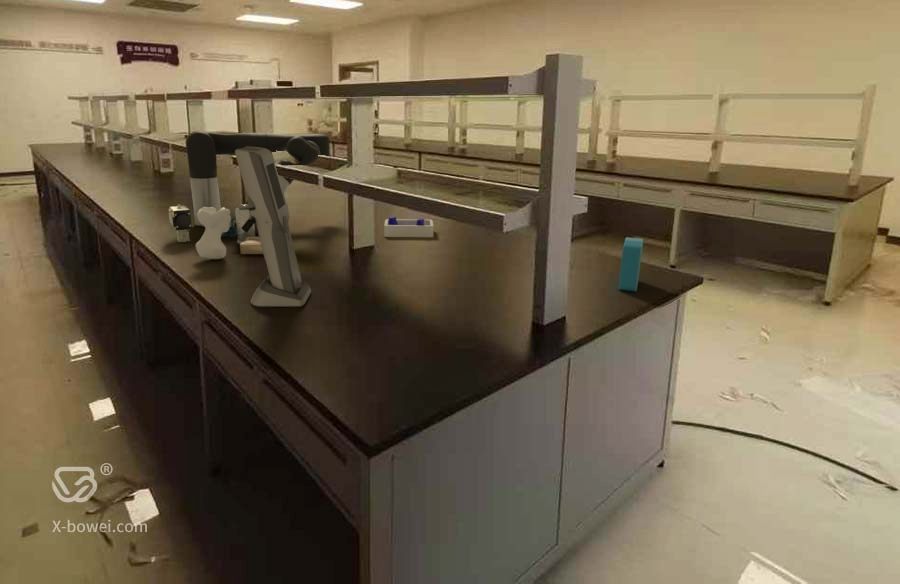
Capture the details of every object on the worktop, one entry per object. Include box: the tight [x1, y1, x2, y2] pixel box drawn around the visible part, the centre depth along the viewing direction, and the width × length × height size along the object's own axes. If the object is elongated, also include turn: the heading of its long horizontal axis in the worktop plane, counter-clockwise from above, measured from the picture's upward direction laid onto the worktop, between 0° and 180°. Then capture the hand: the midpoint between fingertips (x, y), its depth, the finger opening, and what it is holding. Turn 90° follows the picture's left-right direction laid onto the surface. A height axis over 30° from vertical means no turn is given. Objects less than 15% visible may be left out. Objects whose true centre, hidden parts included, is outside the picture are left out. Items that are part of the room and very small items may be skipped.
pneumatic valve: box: [168, 204, 193, 243], centre depth 188 cm, size 6×12×12 cm, turn 32°
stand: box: [239, 236, 264, 255], centre depth 181 cm, size 10×10×3 cm
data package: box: [618, 237, 644, 292], centre depth 152 cm, size 12×4×12 cm, turn 161°
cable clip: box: [388, 215, 425, 225], centre depth 206 cm, size 12×4×6 cm, turn 74°
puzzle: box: [221, 215, 238, 237], centre depth 199 cm, size 6×6×6 cm
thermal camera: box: [234, 146, 312, 308], centre depth 133 cm, size 12×13×35 cm
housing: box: [234, 203, 256, 245], centre depth 188 cm, size 6×6×12 cm
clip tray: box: [383, 218, 434, 238], centre depth 207 cm, size 11×17×4 cm, turn 94°
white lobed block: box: [195, 207, 231, 260], centre depth 168 cm, size 10×11×15 cm
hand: (240, 228), depth 188 cm, fingers closed on housing, 5 cm apart
